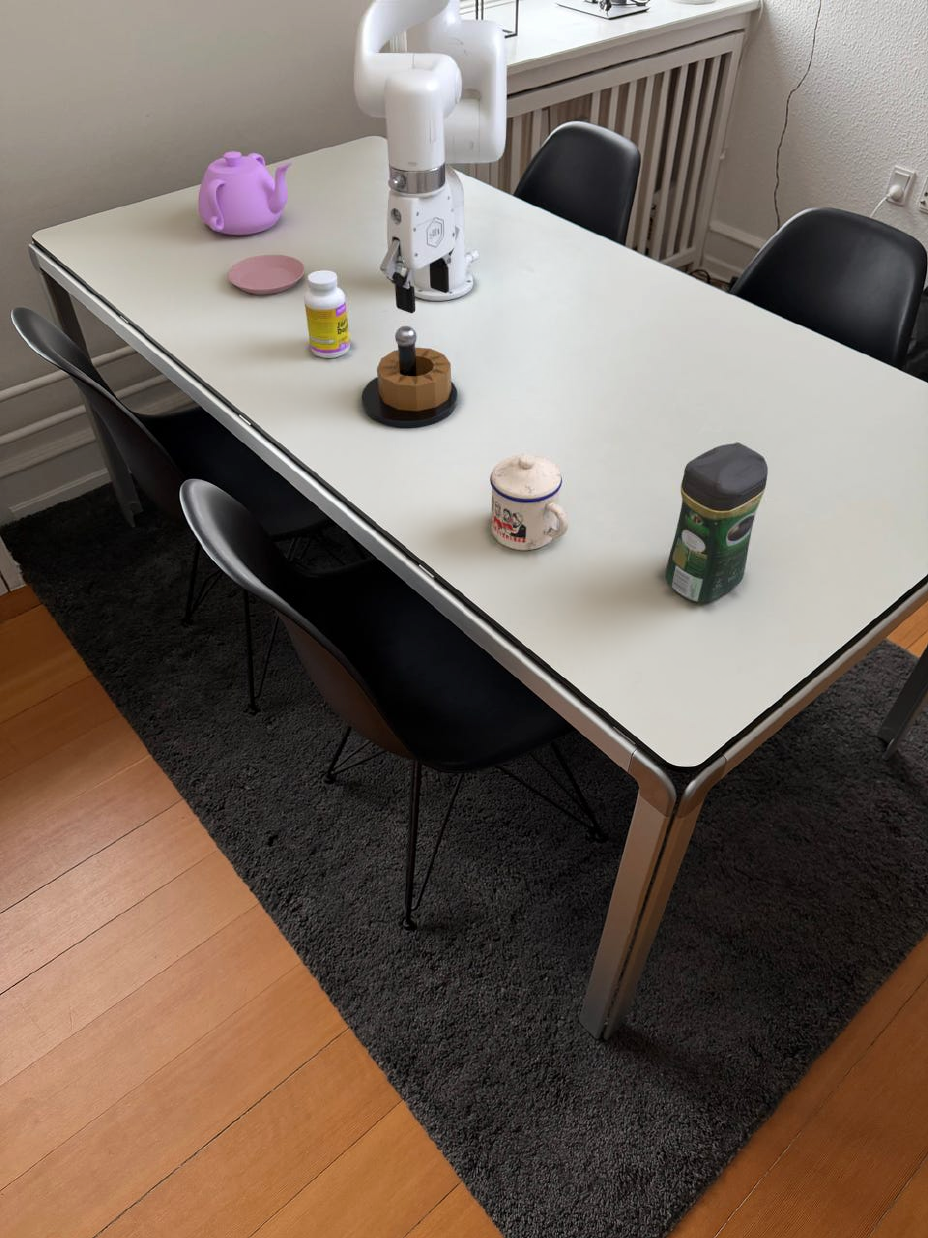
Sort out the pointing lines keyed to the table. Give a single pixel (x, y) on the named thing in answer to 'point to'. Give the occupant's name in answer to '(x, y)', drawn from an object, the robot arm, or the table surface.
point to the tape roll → (415, 381)
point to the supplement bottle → (326, 315)
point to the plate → (266, 274)
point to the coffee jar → (715, 521)
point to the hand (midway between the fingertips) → (423, 299)
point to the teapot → (242, 194)
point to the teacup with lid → (526, 502)
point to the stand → (407, 367)
